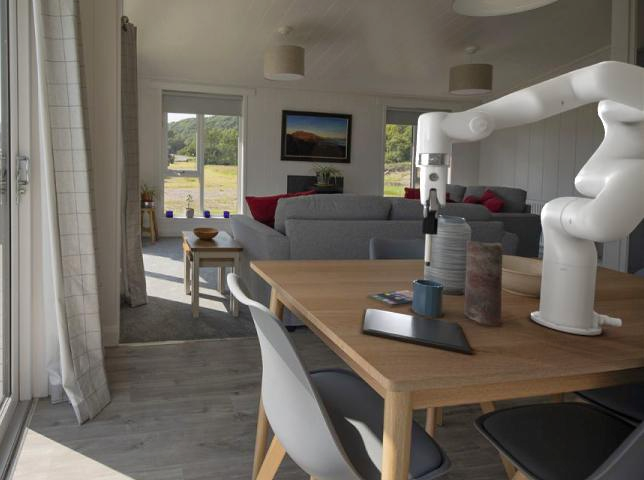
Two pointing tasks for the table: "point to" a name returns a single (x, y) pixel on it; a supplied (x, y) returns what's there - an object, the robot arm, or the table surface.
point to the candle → (483, 282)
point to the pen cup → (427, 297)
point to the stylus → (428, 249)
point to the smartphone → (395, 297)
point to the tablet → (415, 330)
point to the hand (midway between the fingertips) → (429, 233)
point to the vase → (449, 254)
